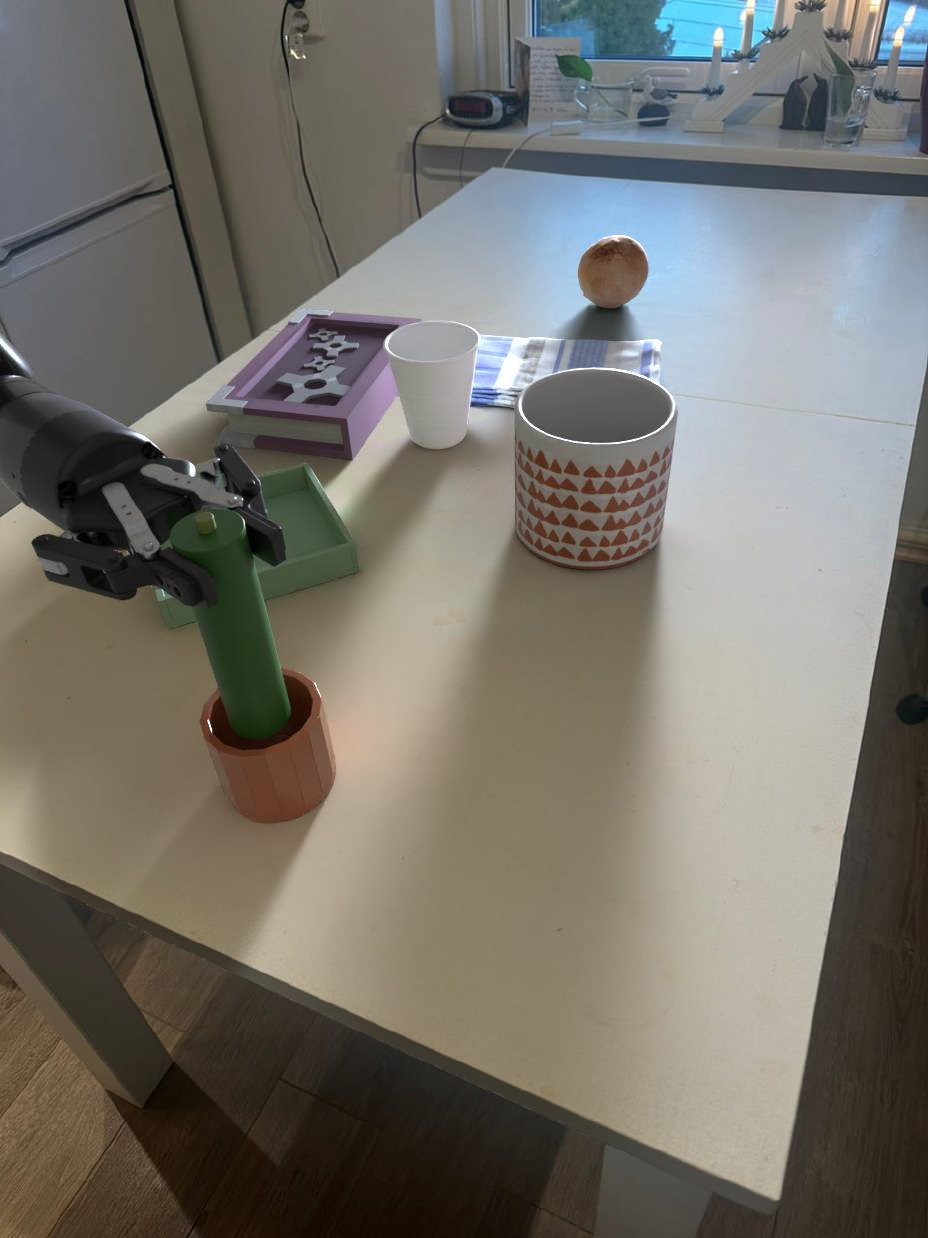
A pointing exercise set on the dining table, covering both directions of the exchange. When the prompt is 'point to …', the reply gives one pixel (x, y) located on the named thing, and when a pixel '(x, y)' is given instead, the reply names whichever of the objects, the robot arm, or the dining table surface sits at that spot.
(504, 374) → the dish towel
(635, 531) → the planter
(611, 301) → the onion
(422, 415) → the cup
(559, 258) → the dining table surface
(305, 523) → the tray
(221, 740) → the crock
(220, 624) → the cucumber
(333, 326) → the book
